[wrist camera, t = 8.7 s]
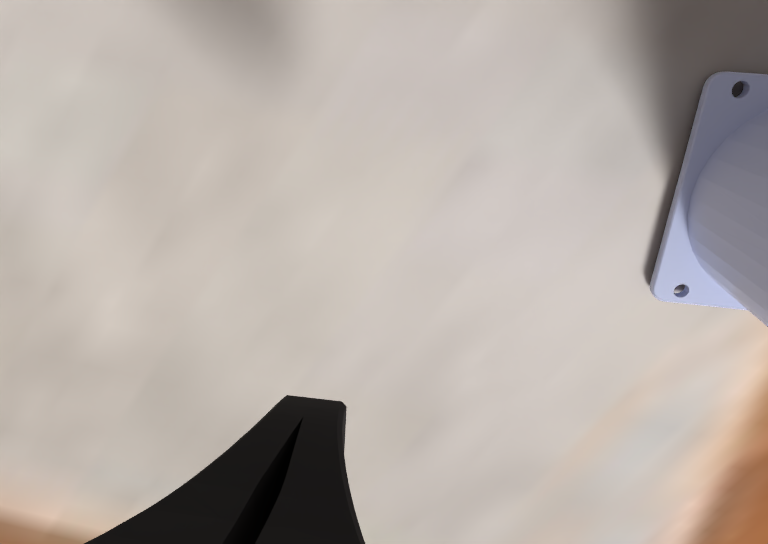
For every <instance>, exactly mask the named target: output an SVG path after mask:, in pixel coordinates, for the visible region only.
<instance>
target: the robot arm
mask: <svg viewBox="0 0 768 544" xmlns="http://www.w3.org/2000/svg"><path fill="white" fill-rule="evenodd" d="M738 81H741V82H742V83H743V91H742V93H741V94H740V95H738V96H737V97H734V96H733V95H732V88H733V86H734V84H736V83H737V82H738ZM681 284H684V285H685V288H684V290H683V291H682V292H680V293H674V289H675V287H676V286H678V285H681ZM650 291H651V293H652V294H653V296H654V297H655V298H657V299H658V300H661V301H665V302H675V303H684V304H694V305H703V306H713V307H722V308H732V309H741V310H749V311H750V312H751V313H752V314H753V315H754V316H756V317H757V318H758V319H759V320H760V321H761V322H763V323H764V324H765V325H766V326H767V327H768V74H755V73H741V72H727V71H723V72H717V73H715V74H713V75H711V76H710V77H709V78H708V79H707V80H706V82H705V84H704V86H703V90H702V93H701V97H700V101H699V104H698V108H697V112H696V116H695V119H694V123H693V127H692V130H691V134H690V138H689V142H688V145H687V149H686V153H685V156H684V160H683V164H682V168H681V171H680V175H679V179H678V182H677V186H676V190H675V194H674V197H673V201H672V205H671V208H670V212H669V216H668V220H667V223H666V227H665V231H664V234H663V238H662V242H661V246H660V249H659V253H658V257H657V260H656V264H655V268H654V272H653V275H652V279H651V283H650ZM345 424H346V406H345V405H344V404H343V402H341V401H332V400H324V399H315V398H306V397H298V396H289V395H287V396H285V397H284V398H283V399H282V400H281V401H280V402H279V403H277V404H276V405H275V406H274V407H273V408H272V409H271V410H270V411H269V412H268V413H267V414H266V415H265V416H264V417H263V418H262V419H261V420H260V421H259V422H258V423H257V424H256V425H255V426H254V427H253V428H251V429H250V430H249V431H248V432H247V433H246V434H245V435H244V436H243V437H241V438H240V439H239V440H238V441H237V442H236V443H235V444H234V445H232V446H231V447H230V448H229V449H228V450H227V451H226V452H224V453H223V454H222V455H221V456H220V457H218V458H217V459H216V460H215V461H213V462H212V463H211V464H210V465H208V466H207V467H206V468H205V469H203V470H202V471H201V472H199V473H198V474H197V475H196V476H194V477H193V478H192V479H190V480H189V481H188V482H186V483H185V484H184V485H182V486H181V487H179V488H178V489H177V490H175V491H174V492H172V493H171V494H169V495H168V496H166V497H165V498H163V499H162V500H160V501H159V502H157V503H156V504H154V505H153V506H151V507H149V508H148V509H146V510H144V511H143V512H141V513H139V514H137V515H136V516H134V517H132V518H130V519H129V520H127V521H125V522H123V523H122V524H120V525H118V526H116V527H115V528H113V529H111V530H109V531H108V532H106V533H104V534H102V535H100V536H98V537H96V538H94V539H92V540H90V541H88V542H86V543H84V544H365V542H364V539H363V536H362V533H361V530H360V526H359V523H358V520H357V517H356V513H355V509H354V505H353V501H352V497H351V493H350V488H349V484H348V478H347V473H346V466H345V459H344V444H345Z"/></svg>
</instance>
